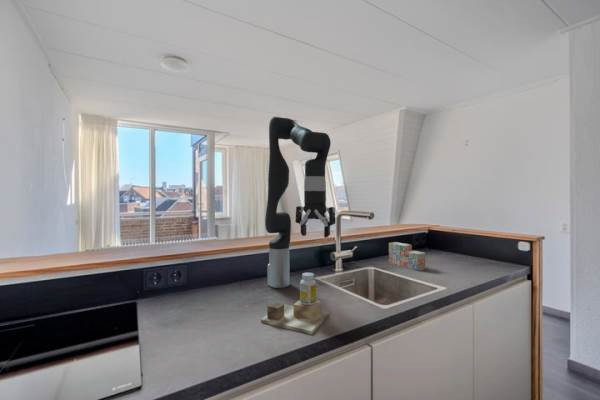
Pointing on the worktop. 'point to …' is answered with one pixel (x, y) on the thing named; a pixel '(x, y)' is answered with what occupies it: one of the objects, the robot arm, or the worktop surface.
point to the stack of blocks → (406, 256)
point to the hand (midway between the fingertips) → (314, 236)
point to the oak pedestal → (307, 310)
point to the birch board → (296, 321)
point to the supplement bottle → (308, 289)
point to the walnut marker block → (275, 311)
